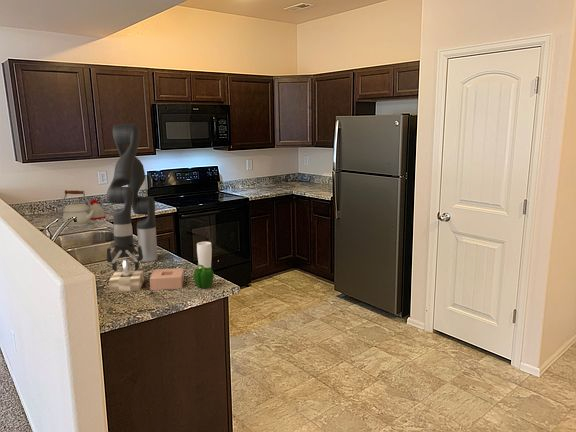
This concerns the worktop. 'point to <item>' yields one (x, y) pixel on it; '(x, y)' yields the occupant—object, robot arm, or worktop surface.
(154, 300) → the worktop surface
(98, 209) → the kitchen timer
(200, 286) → the bell pepper
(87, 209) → the kettle
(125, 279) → the mount block
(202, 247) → the drinking glass
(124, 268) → the lock pin
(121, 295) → the worktop surface
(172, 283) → the dock block
